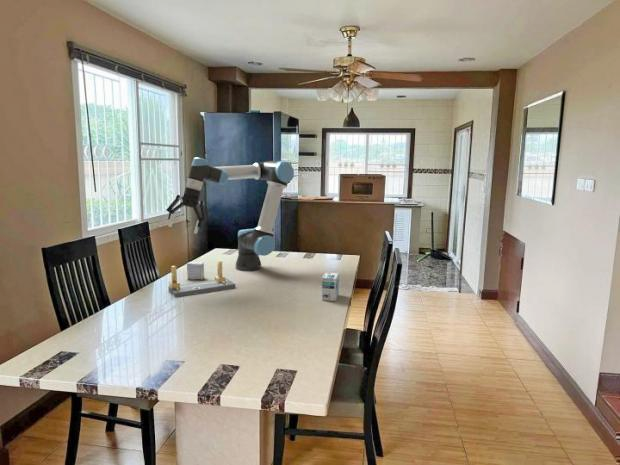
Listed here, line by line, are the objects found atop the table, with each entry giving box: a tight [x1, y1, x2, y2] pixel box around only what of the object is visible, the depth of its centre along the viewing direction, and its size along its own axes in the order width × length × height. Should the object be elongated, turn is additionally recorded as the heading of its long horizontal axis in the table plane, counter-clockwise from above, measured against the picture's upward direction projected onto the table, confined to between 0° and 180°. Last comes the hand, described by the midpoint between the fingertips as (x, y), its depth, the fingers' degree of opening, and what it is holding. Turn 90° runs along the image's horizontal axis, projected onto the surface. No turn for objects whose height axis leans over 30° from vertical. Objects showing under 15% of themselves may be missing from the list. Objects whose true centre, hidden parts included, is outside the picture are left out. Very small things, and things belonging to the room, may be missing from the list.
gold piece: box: [168, 265, 181, 291], centre depth 210 cm, size 4×9×10 cm, turn 32°
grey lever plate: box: [167, 260, 236, 298], centre depth 217 cm, size 30×12×12 cm, turn 122°
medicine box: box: [186, 261, 205, 281], centre depth 236 cm, size 8×4×9 cm, turn 84°
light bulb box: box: [321, 272, 340, 302], centre depth 207 cm, size 11×7×11 cm, turn 168°
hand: (182, 230), depth 218 cm, fingers open, 13 cm apart
